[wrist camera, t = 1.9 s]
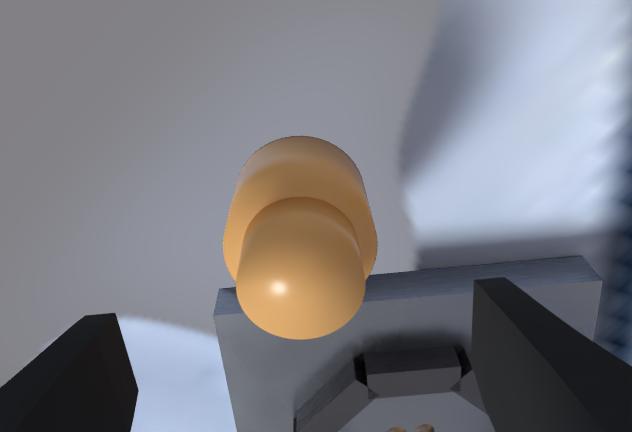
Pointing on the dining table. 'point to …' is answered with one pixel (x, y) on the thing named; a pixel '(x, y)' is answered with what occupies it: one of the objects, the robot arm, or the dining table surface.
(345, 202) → the orange rounded knob
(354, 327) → the junction plate
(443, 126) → the dining table surface
